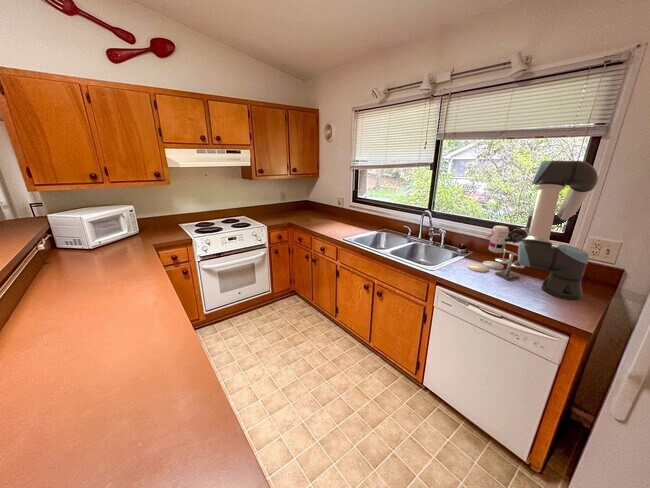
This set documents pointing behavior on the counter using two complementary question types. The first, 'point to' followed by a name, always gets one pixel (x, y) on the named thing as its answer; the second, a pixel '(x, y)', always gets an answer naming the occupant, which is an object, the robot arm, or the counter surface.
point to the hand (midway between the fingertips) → (492, 238)
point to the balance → (507, 273)
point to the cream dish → (478, 267)
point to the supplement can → (494, 240)
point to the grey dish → (493, 265)
